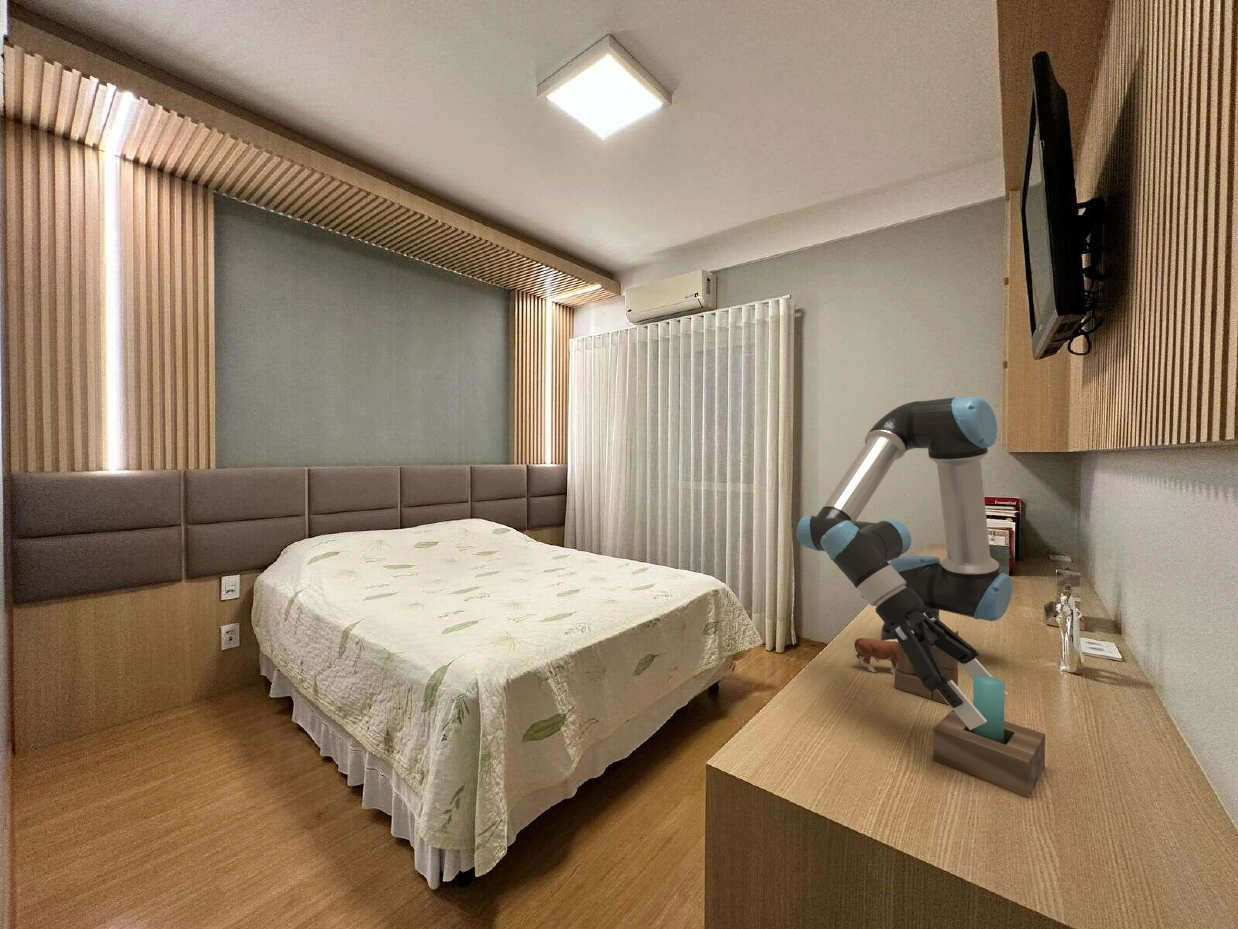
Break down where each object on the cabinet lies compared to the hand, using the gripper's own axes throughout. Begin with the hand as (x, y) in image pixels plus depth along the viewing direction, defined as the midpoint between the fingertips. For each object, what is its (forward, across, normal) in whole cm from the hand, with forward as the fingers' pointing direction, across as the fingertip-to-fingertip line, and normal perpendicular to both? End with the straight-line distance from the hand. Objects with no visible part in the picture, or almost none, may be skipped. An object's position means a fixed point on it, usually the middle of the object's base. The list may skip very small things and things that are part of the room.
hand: (990, 711), depth 79 cm
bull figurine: (-11, -25, -24) cm, 36 cm away
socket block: (+6, 0, -6) cm, 8 cm away
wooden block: (-4, -19, -17) cm, 26 cm away
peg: (+5, 0, -5) cm, 7 cm away
